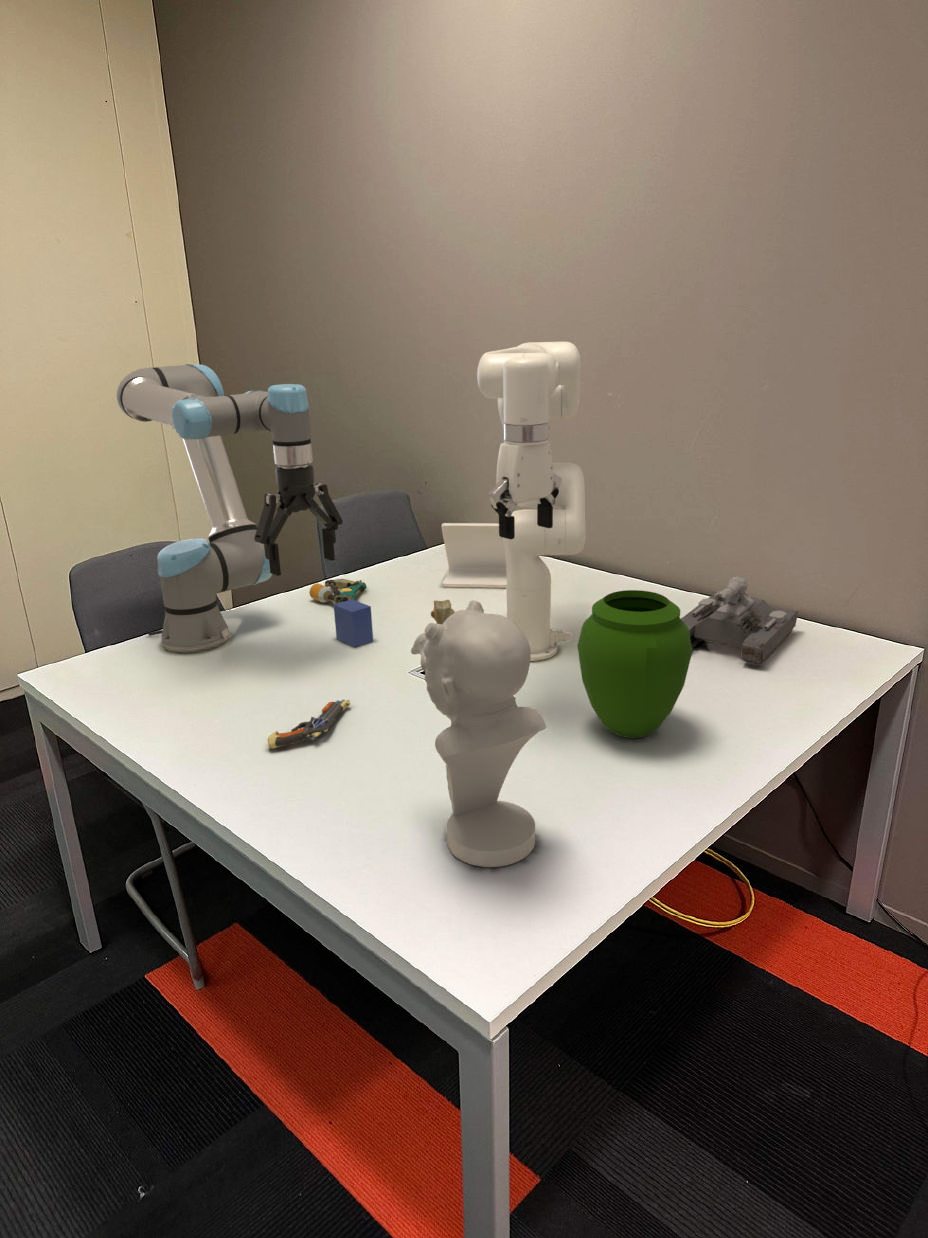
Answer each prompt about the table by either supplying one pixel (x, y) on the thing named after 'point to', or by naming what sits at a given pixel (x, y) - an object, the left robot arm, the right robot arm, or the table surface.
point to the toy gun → (309, 726)
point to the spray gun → (337, 590)
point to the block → (353, 623)
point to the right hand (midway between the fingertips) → (526, 532)
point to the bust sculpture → (481, 729)
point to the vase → (634, 660)
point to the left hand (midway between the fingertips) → (303, 566)
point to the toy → (740, 622)
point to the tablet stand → (474, 555)
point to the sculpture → (441, 611)
